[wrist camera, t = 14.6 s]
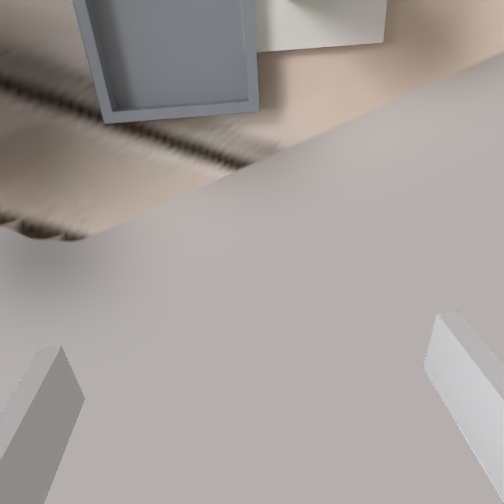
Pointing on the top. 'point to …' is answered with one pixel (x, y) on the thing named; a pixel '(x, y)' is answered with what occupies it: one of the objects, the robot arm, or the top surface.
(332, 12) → the coaster
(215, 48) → the grey shallow square tray
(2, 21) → the top surface
